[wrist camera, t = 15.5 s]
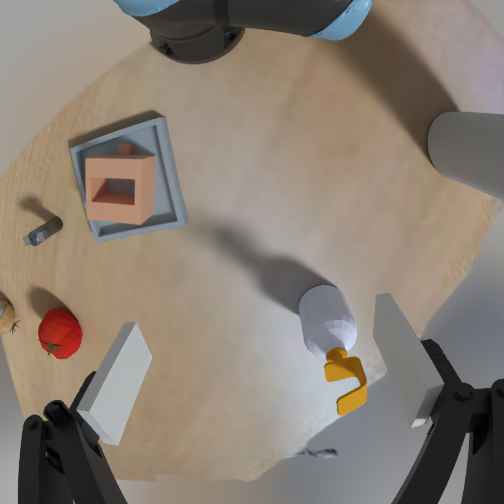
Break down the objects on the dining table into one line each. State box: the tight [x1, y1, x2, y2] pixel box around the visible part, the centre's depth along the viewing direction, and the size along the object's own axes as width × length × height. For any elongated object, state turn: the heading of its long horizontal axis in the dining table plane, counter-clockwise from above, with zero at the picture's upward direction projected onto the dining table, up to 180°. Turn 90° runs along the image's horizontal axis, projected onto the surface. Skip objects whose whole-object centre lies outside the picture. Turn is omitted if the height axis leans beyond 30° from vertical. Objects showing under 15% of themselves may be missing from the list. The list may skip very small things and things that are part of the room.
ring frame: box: [85, 144, 156, 225], centre depth 43 cm, size 10×12×6 cm
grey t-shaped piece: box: [23, 217, 63, 246], centre depth 46 cm, size 3×6×8 cm, turn 99°
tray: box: [70, 117, 188, 243], centre depth 46 cm, size 18×18×2 cm
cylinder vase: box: [428, 112, 504, 201], centre depth 30 cm, size 12×12×25 cm
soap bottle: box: [299, 285, 367, 416], centre depth 44 cm, size 9×9×25 cm
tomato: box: [38, 309, 83, 359], centre depth 56 cm, size 11×13×10 cm
